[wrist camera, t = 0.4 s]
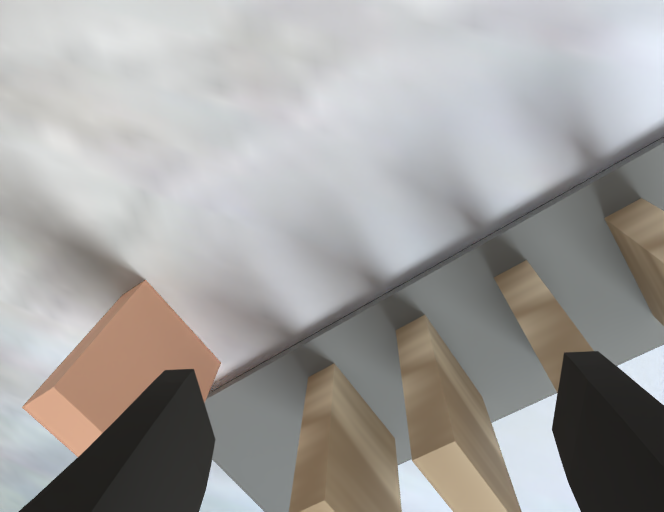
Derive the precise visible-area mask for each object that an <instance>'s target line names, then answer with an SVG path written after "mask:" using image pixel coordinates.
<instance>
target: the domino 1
mask: <svg viewBox="0 0 664 512" xmlns="http://www.w3.org/2000/svg"><path fill="white" fill-rule="evenodd" d="M220 364H221V362H220V361H219V360H218V359H217V358H216V357H215V356H214V355H213V353H212V352H211V351H210V350H209V349H208V348H207V347H206V346H205V345H204V344H203V342H202V341H201V340H200V339H199V338H198V337H197V336H196V335H195V334H194V332H193V331H192V330H191V329H190V328H189V327H188V326H187V325H186V324H185V323H184V321H183V320H182V319H181V318H180V317H179V316H178V315H177V314H176V313H175V312H174V310H173V309H172V308H171V307H170V306H169V305H168V304H167V303H166V302H165V301H164V299H163V298H162V297H161V296H160V295H159V294H158V293H157V292H156V291H155V289H154V288H153V287H152V286H151V285H150V284H149V283H148V282H147V281H146V280H144V281H143V282H141V283H140V284H138V285H137V286H135V287H134V288H132V289H131V290H130V291H128V292H127V293H125V294H124V295H122V296H121V297H120V298H119V299H118V300H117V302H116V303H115V304H114V305H113V306H112V307H111V308H110V309H109V311H108V312H107V313H106V314H105V315H104V316H103V317H102V318H101V319H100V321H99V322H98V323H97V324H96V325H95V326H94V327H93V328H92V330H91V331H90V332H89V333H88V334H87V335H86V336H85V337H84V338H83V340H82V341H81V342H80V343H79V344H78V345H77V346H76V347H75V349H74V350H73V351H72V352H71V353H70V354H69V355H68V356H67V357H66V359H65V360H64V361H63V362H62V363H61V364H60V365H59V366H58V367H57V369H56V370H55V371H54V372H53V373H52V374H51V375H50V376H49V378H48V379H47V380H46V381H45V382H44V383H43V384H42V385H41V386H40V388H39V389H38V390H37V391H36V392H35V393H34V394H33V395H32V397H31V398H30V399H29V400H28V401H27V402H26V403H25V404H24V405H23V407H22V408H23V409H24V410H25V411H27V412H28V413H29V414H30V415H31V416H32V417H33V418H34V419H36V420H37V421H38V422H39V423H40V424H41V425H42V426H43V427H45V428H46V429H47V430H48V431H49V432H50V433H51V434H53V435H54V436H55V437H56V438H57V439H58V440H59V441H60V442H62V443H63V444H64V445H65V446H66V447H67V448H68V449H69V450H71V451H72V452H73V453H74V454H75V455H76V456H77V457H79V456H80V455H81V454H82V453H83V452H84V451H85V450H86V449H87V448H88V447H89V446H90V445H91V444H92V443H93V442H94V441H95V440H96V439H97V438H98V437H99V436H100V435H101V434H102V433H103V432H104V431H105V430H106V429H107V428H108V427H109V426H110V425H111V424H112V423H113V422H114V421H115V420H116V419H117V418H118V417H119V416H120V415H121V414H122V413H123V412H124V411H125V410H126V409H127V408H128V407H129V406H130V405H131V404H132V403H133V402H134V401H135V400H136V399H137V398H138V397H139V396H140V395H141V393H142V392H143V391H144V390H145V389H146V388H147V387H148V386H149V385H150V384H151V383H152V382H153V381H154V380H155V379H156V378H157V377H158V376H159V375H160V374H161V373H162V372H163V371H165V370H177V369H194V371H195V374H196V377H197V381H198V384H199V387H200V390H201V394H202V397H203V400H204V403H205V401H206V398H207V396H208V393H209V391H210V389H211V386H212V384H213V381H214V379H215V376H216V374H217V372H218V369H219V367H220Z"/></svg>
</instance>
